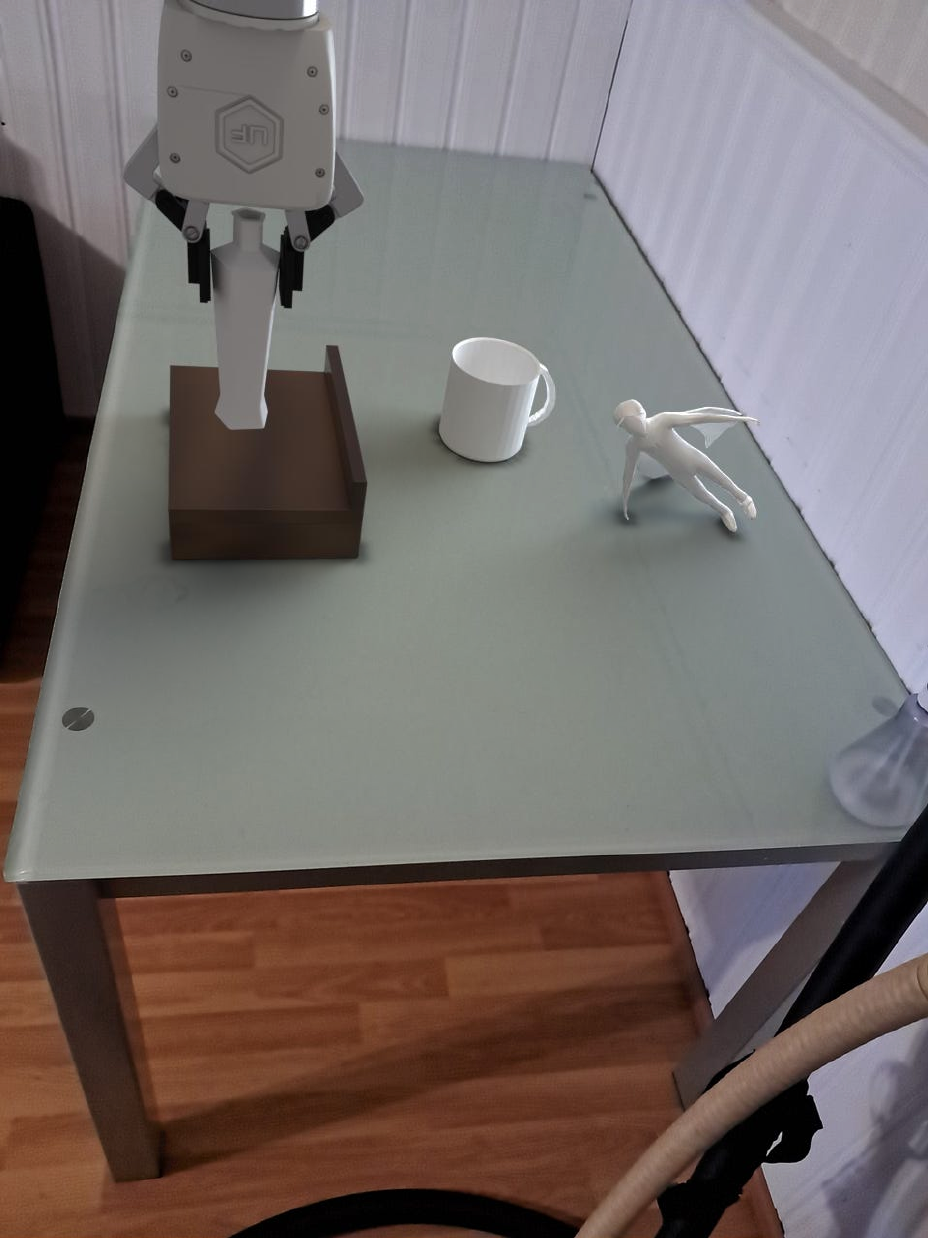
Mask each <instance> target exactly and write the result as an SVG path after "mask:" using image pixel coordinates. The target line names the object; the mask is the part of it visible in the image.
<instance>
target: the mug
mask: <svg viewBox="0 0 928 1238" xmlns="http://www.w3.org/2000/svg"><path fill="white" fill-rule="evenodd" d="M540 375H541V376H542V377H543V379H544V380H545V385H546V394H547V396H546V400H545V402H544V406H543V407H542V408H541V409H539V410H538V411H536V412H535V413H534V414H532V415H530V414H531V411H532V407H533V403H534V399H535V395H536V392H537V387H538V384H539V380H540ZM555 404H556V386H555V382H554V380H553V378H552V376H551V373H550V372H549V370H548V368H547V367H546V366H545V365H544V364H542V363H540V361H539V359H538V358H537V357H536V356H535V354H533V353H532V352H530V351H529V350H528V349H526V348H525V347H523V346H521V345H519V344H517V343H515V342H512V341H508V340H505V339H500V338H496V337H495V338H494V337H483V336H482V337H481V336H480V337H472V338H467V339H464V340H462V341H460V342H459V343H457V344H456V345H455V346H454V347H453V350H452V352H451V359H450V365H449V369H448V373H447V381H446V386H445V392H444V397H443V402H442V408H441V414H440V420H439V425H438V433H439V435H440V438H441V441H442V442H443V443H444V445H445V446H446V447H447V448H448V449H449V450H451V451H452V452H454V453H455V454H457V455H460V456H461V457H463V458H466V459H468V460H473V461H476V462H484V463H496V462H502V461H505V460H506V461H507V460H509V459H511V458H512V457H514V456H515V455H516V454H517V453H519V451H520V450H521V448H522V447H523V442H524V438H525V435H526V430H527V428H529V427H530V428H532V427H535V426H536V425H538V424H540V423H542V422H543V421H545V419H546V418H548V417H550V415H551V414H552V412H553V411H552V410H553V408H554V407H555Z"/></svg>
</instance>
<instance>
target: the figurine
mask: <svg viewBox="0 0 928 1238" xmlns="http://www.w3.org/2000/svg"><path fill="white" fill-rule="evenodd" d="M612 419H613V420H612V421H613V422H614V424H615V425H616V429H615V430H614V432H613V433H612V435H611V436H610V438H609V439H608V441H610V440H611V439H612V438H613V436H614V434H615V433H616V432H617V430H618V428H621V429H623V430H625V431H626V432H627V433H629V434H630V435H629V436H628V438H627V439H626V441H625V445H624V454H625V463H624V469H623V475H622V510H623V516H624V518H625V519H626V520H627V521H630V519H629V515H628V514H627V511H628V510H627V506H628V499H629V496H630V494H631V489H632V486H633V482H634V479H635V472H636V470H638V471H639V472H640V473H641V474H643V475H644V476H645V477H647V478H649V479H652V480H656V479H659V478H662V477H664V476H667V475H669V477H670V478H671V479H672V480H673V481H674V482H675V483H677V484H678V485H679V486H680V487H682V488H683V489H685V490H686V491H687V492H688V493H689V494H691V496H693V497H694V498H695V499H696V500H698V501H700V502H701V503H702V504H703V503H704V504H705V505H707V506H709V507H710V508H711V509H712V510H714V511H715V512H716V513H717V514H718V516H719V517H720V518H721V519H722V522H723V524H724V525H725V527H726V528H727V529H728V530H729V531H730V532H732V533H735V532H737V530H738V529H737V522H736V518H735V517H734V513H733V511H732V510H731V508H729V507H728V506H726V505H725V504H724V503H723V502H721V501H720V500H718V498H717V497H716V496H715V495H713V493H711V492H710V491H709V490H707V488H706V487H705V486H704V484H703V483H702V482H701V481H700V479H699V478H698V477H697V475H699V476H701V477H702V478H705V479H706V480H708V481H710V482H711V483H713V484H715V485H716V486H717V487H719V488H720V489H722V490H723V491H725V492H727V493H728V494H729V495H730V496H732V497H733V498H734V499H735V500H736V502H738V503H739V506H740V507H741V508H742V510H743V512H744V513H745V514H746V515H747V517H748V519H750V520H755V519H756V517H757V509H756V507H755V504H754V501H753V498H752V497H751V496H750V495H748V494H747V492H744V491H743V490H742V489H741V488H739V487H738V486H737V485H736V484H735V483H734V482H733V481H732V480H731V478H730V477H728V475H726V474H725V473H724V472H723V471H722V470H721V469H720V468H719V467H718V466H717V464H715V462H714V461H712V460H711V459H710V458H709V457H708V456H707V455H706V454H705V453H703V452H702V451H700V450H699V449H698V448H696V447H695V446H693V445H692V444H690V443H689V442H687V441H686V440H685V439H684V438H682V437H681V435H679V434H678V433H677V432H676V430H675V428H676V429H677V428H683V427H689V426H690V427H693V428H694V429H696V430H698V431H699V432H700V433H701V434H702V435H704V444H705V448H706V449H707V448H708V447H710V446H711V445H712V444H713V443H714V442H715V441H717V439H718V438H719V437H721V435H722V434H723V433H724V432H725V431H726V430H728V429H729V428H731V427H733V426H737V424H738V423H739V422H744V423H751V424H755V425H757V426H760V427H761V424H760V420H758V419H757V418H755V417H750V416H742V412H738V411H737V410H733V409H728V408H723V407H714V406H713V407H712V406H706V407H705V406H704V407H701V408H696V409H691V410H686V411H681V412H678V411H677V412H670V411H664V412H659V413H657V414H655V415H653V416H651V417H647V411H646V410H645V409H644V408H643V406H642V404H641V403H640V402H639V401H637V400H636V399H629V400H625V401H622V402H620V403H619V404H618V406H617V407H616V408H615V411H613V414H612Z"/></svg>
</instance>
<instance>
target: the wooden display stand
mask: <svg viewBox="0 0 928 1238" xmlns="http://www.w3.org/2000/svg"><path fill="white" fill-rule="evenodd" d="M324 353H325V356H324V366H323V367H324V369H323V371H313V370H291V369H288V370H287V369H270V368H269V369H268V368H267V372H266V381H265V389H264V398H265V402H266V406H267V411H268V412H267V417H266V422H265V426H264V428H261V429H237V430H231V429H229V428H228V427H227V426H226V425H225V424H224V423H223V422H222V421H221V419H220V418H219V417H218V416H217V415H216V414H215V409H216V406H217V403H218V400H219V397H220V383H219V369H218V366H198V365H177V364H176V365H175V364H170V365H169V417H168V418H169V421H168V422H169V424H168V427H169V429H168V432H169V433H168V502H167V503H168V505H167V507H168V523H169V524H168V526H169V527H168V528H169V545H170V546H169V547H170V559H171V560H248V559H249V560H255V559H256V560H265V559H266V560H267V559H268V560H269V559H273V560H274V559H276V560H277V559H278V560H279V559H283V560H284V559H358V558H359V556H360V555H359V554H360V547H361V537H362V532H363V531H362V530H363V522H364V514H365V507H366V498H367V490H368V478H367V473H366V472H367V471H366V469H365V463H364V459H363V454H362V450H361V445H360V442H359V436H358V431H357V427H356V422H355V418H354V412H353V408H352V404H351V399H350V395H349V389H348V385H347V381H346V376H345V372H344V367H343V362H342V361H343V360H342V357H341V352H340V348H339V345H337V344H334V345H333V344H326V345H325V352H324Z"/></svg>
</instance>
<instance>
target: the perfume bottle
mask: <svg viewBox="0 0 928 1238" xmlns="http://www.w3.org/2000/svg"><path fill="white" fill-rule="evenodd" d="M230 214H231V215H232V216H233V217H232V219H233V220H232V221H233V222H232V241H230V242H228V243H227V242H226V243H225V244H222V245H220V246H217V247H214V248H212V249H210V270H211V281H212V283H211V284H212V294H213V295H212V296H213V309H214V312H213V313H214V324H215V325H214V326H215V340H216V354H217V367H218V369H219V383H220V397H219V400H218V403H217V406H216V409H215V414H216V415H217V416H218V417H219V418H220V419H221V421H222V422H223V423H224V424H225V425H226V426H227V427H228V428H229V429H231V430H237V429H261V428H264V426H265V422H266V417H267V412H268V411H267V406H266V402H265V398H264V389H265V381H266V372H267V369H268V365H269V364H268V363H269V355H270V347H271V341H272V340H271V339H272V331H273V323H274V314H275V307H276V299H277V298H276V297H277V291H278V284H279V266H280V257H281V254H280V250H279V251H278V250H277V249H275V248H274V247H273V248H272V247H271V246H269V245H267V244H265V243H263V240H264V239H263V237H264V222H265V220H266V216H267V215H266V213H265V212H264V211H261V210H257V209H254V208H252V207H249V206H243V207H240V208H236V209H234V210H231V212H230Z"/></svg>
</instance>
